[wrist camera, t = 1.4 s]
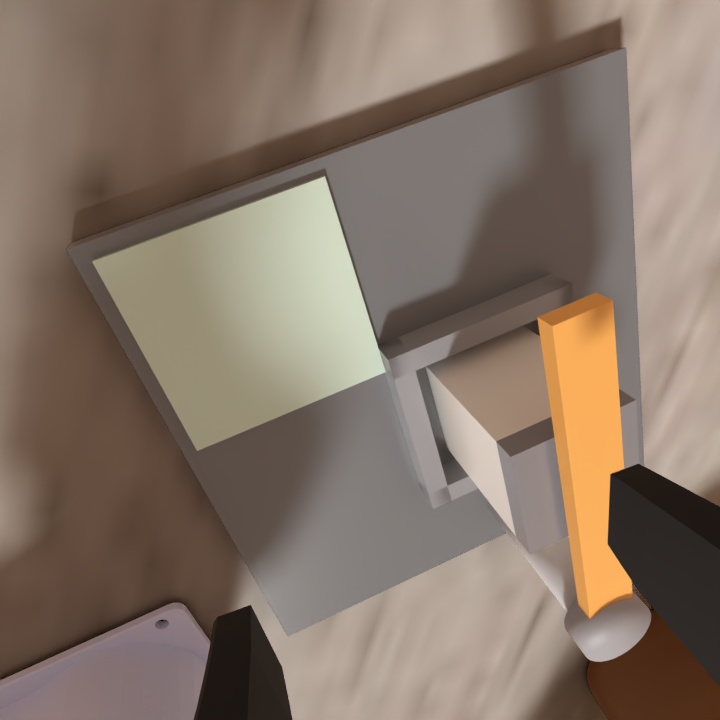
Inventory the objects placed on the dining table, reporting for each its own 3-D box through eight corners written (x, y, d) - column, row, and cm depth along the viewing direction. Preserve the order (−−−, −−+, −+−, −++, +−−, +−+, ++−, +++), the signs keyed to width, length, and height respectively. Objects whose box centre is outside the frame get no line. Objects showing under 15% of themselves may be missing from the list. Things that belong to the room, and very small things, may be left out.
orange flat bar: (568, 647, 20) (586, 673, 19) (514, 322, 13) (537, 337, 12) (631, 615, 20) (652, 638, 19) (608, 282, 14) (638, 295, 13)
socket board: (284, 621, 25) (317, 778, 19) (70, 242, 16) (14, 324, 10) (632, 458, 27) (754, 555, 21) (608, 49, 18) (804, 29, 13)
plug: (447, 448, 22) (529, 554, 17) (425, 365, 20) (510, 457, 15) (535, 408, 23) (641, 501, 18) (521, 324, 21) (636, 399, 16)
